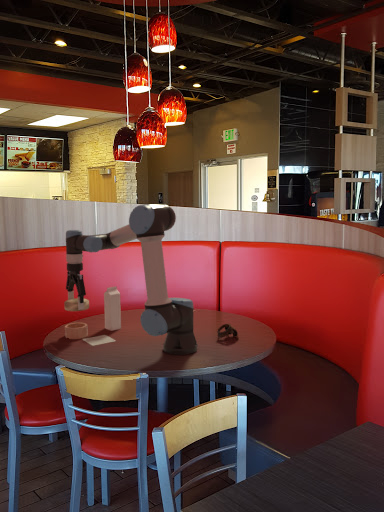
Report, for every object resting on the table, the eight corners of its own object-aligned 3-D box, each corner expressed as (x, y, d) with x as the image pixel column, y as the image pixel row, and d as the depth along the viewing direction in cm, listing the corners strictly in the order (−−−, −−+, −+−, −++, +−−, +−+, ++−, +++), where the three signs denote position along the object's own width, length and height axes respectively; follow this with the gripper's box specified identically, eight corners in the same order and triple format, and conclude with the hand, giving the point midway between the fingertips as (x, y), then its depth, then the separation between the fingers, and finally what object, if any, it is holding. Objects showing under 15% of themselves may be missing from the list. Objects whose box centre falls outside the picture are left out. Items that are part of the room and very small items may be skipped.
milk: (121, 329, 241) (120, 287, 238) (111, 331, 237) (110, 288, 234) (114, 326, 246) (113, 285, 243) (104, 329, 242) (103, 286, 239)
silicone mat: (116, 341, 221) (116, 340, 221) (92, 346, 214) (92, 345, 214) (105, 335, 230) (105, 334, 230) (82, 340, 223) (82, 339, 223)
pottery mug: (240, 342, 220) (232, 329, 218) (222, 350, 222) (214, 336, 220) (239, 329, 231) (232, 316, 229) (222, 336, 233) (214, 323, 231)
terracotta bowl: (90, 337, 228) (90, 326, 227) (70, 341, 222) (69, 329, 221) (82, 332, 236) (82, 321, 236) (62, 335, 230) (61, 324, 230)
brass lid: (70, 312, 219) (69, 305, 219) (60, 307, 229) (60, 300, 228) (93, 308, 226) (92, 301, 226) (83, 303, 235) (83, 296, 235)
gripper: (92, 264, 217) (93, 310, 220) (72, 258, 236) (74, 301, 239) (77, 266, 212) (78, 313, 215) (58, 260, 231) (59, 303, 234)
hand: (76, 307), depth 227 cm, fingers closed on brass lid, 12 cm apart
